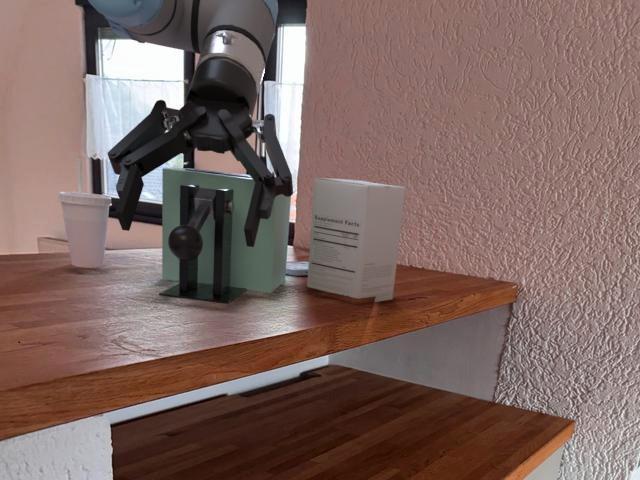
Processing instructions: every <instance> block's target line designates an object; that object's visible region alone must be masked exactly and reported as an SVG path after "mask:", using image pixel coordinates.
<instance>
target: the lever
mask: <svg viewBox="0 0 640 480" xmlns="http://www.w3.org/2000/svg"><path fill="white" fill-rule="evenodd" d="M215 201H216V189H208V188H199V190H198V192H197V193H196V195H195V197H194V208H195V213H194V215H193V216H192V218H191V220H190V222H189V223H188V225H179V226H177V227H175V228H174V229H173V230H172V231H171V232H170V234H169V237H168V245H169V249H170V251H171V252H172V254H173V255H174V256H175V257H177V258H179V259H181V260H186V261H188V260H192V259H195V258H196V257H198V256H199V254H200V253H201V251H202V248H203V240H202V237H201V235H200V233H199V232H200V230H201V228H202V226H203V224H204V222H205V221H206V220H215Z"/></svg>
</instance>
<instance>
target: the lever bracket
mask: <svg viewBox="0 0 640 480" xmlns="http://www.w3.org/2000/svg"><path fill="white" fill-rule="evenodd" d="M198 190H199V185H194V184H187V185H180V225H188V223H189V222H190V220H191V218H192V216H193V215H194V213H195V208H194V197H195V195H196V193H197V192H198ZM233 212H234V201H233V189H227V188H224V189H216V201H215V236H214V270H213V284H205V283H197V281H198V257H196V258H195V259H192V260H188V261H186V260H181V259H179V281H178V283H177V284H175V285H173V286H171V287H169V288H167V289H165V290H163V291H160V292H159V293H158V296H160V297H170V298H178V299H186V300H193V301H200V302H201V301H202V302H208V303H209V302H210V303H217V304H226V305H229V304H230V303H232V302H233V301H234V300H235V299H237V298H239V297H240V296H241V295H242V294H244V293H245V292H247V291H248V290H247V289H245V288H237V287H230V269H231V242H232V216H233Z"/></svg>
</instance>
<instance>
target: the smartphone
mask: <svg viewBox="0 0 640 480" xmlns="http://www.w3.org/2000/svg"><path fill="white" fill-rule="evenodd" d="M308 266H309V260H306V261H304V260H303V261H301V260H300V261H287V262H286V275H289V276H308Z"/></svg>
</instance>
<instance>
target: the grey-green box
mask: <svg viewBox="0 0 640 480" xmlns="http://www.w3.org/2000/svg"><path fill="white" fill-rule="evenodd" d="M161 180H162V187H161V188H162V190H161V191H162V193H161V195H162V196H161V197H162V200H161V201H162V205H161V208H162V211H161V212H162V214H161V215H162V216H161V217H162V218H161V219H162V221H161V222H162V225H161V226H162V228H161V232H162V233H161V236H162V237H161V238H162V239H161V241H162V242H161V244H162V245H161V246H162V247H161V248H162V249H161V252H162V253H161V264H162V265H161V268H162V269H161V270H162V271H161V279H162V280H166V281H174V282H179V258H177V257H175V256H174V255H173V254H172V252H171V251H170V249H169V245H168V237H169V234H170V232H171V231H172V230H173V229H174V228H175V227H177V226H179V225H180V185H187V184H194V185H199V188H208V189H224V188H227V189H233V201H234V212H233V216H232V242H231V269H230V287H237V288H245V289H247V291H254V292H255V291H256V292H261V293H262V292H263V293H269V294H271V293H272V292H274V291H275V290H276V289H277V288H279V286H281V285H282V284H284V282H286V277H287V274H286V262H288V248H289V247H288V245H289V230H290V218H291V217H290V215H291V202H292V196H290V197H286V196H284V195H283V194H281V195H278V196H276V197H275V199H274V203H273V207H272V211H271V216H270V217H269V218H268V219H260V223H259V227H258V231H257V236H256V240H255V244H254V247H249V246H247V244H246V238H245V233H244V226H245V222H246V218H247V214H248V210H249V206H250V202H251V198H252V194H253V190H254V186H255V181H254V180H253V179H252V177H251V176H250V175H249V174H243V173H235V172H228V171H227V172H226V171H218V170H212V169H211V170H210V169H202V168H188V167H187V168H185V167H182V168H179V167H177V168H176V167H174V168H167V167H166V168H165V167H164V168H162V177H161ZM199 233H200V235H201V237H202V240H203V248H202V251H201V253H200V254H199V256H198V281H197V283H205V284H213V270H214V236H215V220H206V221H205V222H204V224H203V226H202V228H201V230H200V232H199Z"/></svg>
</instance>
